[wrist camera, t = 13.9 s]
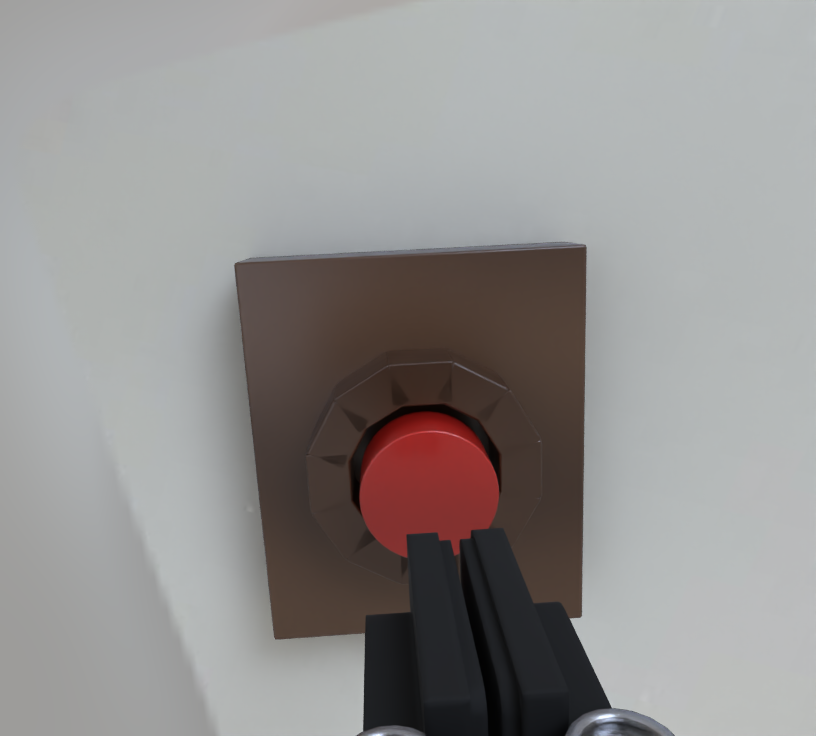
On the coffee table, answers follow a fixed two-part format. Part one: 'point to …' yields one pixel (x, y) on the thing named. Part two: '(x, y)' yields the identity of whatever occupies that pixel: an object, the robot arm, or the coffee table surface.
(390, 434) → the button
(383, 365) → the button box
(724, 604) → the coffee table surface
